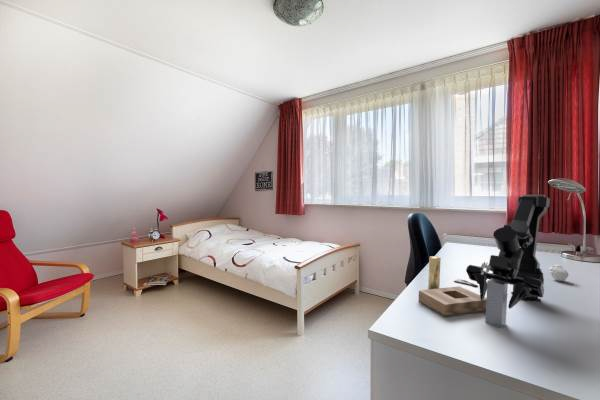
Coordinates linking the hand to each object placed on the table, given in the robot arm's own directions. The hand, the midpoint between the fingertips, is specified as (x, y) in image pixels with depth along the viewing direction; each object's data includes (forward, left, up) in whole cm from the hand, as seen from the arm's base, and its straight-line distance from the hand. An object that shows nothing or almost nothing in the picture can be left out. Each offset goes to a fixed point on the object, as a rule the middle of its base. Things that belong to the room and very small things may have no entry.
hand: (494, 303), depth 79 cm
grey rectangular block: (-1, -1, -7) cm, 7 cm away
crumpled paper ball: (-54, -47, -7) cm, 72 cm away
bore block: (+5, -12, -7) cm, 15 cm away
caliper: (-33, -48, -7) cm, 59 cm away
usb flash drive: (-9, -36, -7) cm, 38 cm away
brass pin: (+7, -27, -7) cm, 29 cm away
